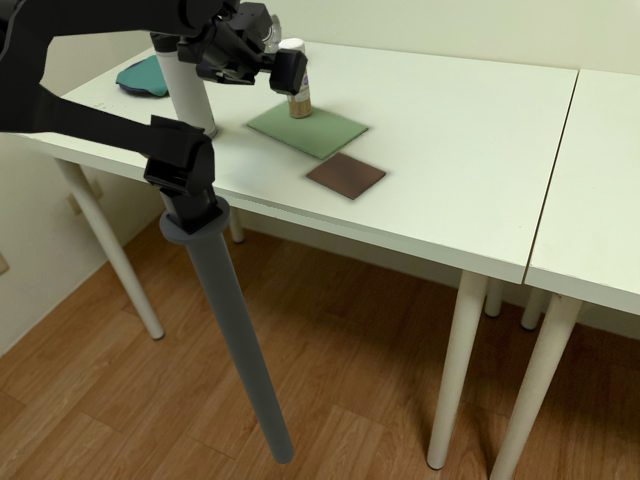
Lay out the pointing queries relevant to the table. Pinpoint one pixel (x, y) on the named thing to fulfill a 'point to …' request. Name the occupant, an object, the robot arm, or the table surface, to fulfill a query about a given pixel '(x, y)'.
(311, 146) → the green mat
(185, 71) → the travel mug
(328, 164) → the walnut mat
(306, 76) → the sprinkles bottle
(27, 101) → the robot arm
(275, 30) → the watch
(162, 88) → the cutlery set
